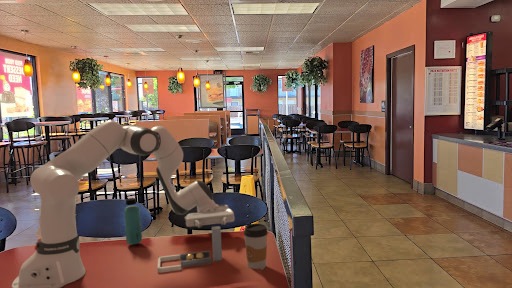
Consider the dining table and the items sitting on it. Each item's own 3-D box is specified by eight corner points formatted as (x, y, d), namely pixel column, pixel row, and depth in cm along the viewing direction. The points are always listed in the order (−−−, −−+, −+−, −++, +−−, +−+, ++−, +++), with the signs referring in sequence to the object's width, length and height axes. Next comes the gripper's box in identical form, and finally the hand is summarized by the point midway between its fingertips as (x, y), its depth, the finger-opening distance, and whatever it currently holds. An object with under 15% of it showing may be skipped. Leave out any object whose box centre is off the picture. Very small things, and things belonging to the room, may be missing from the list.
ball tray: (157, 275, 135) (157, 268, 134) (158, 263, 144) (158, 256, 144) (181, 272, 136) (180, 265, 136) (180, 260, 146) (180, 254, 146)
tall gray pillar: (214, 264, 142) (212, 230, 141) (213, 259, 146) (211, 226, 144) (222, 263, 143) (220, 229, 141) (220, 258, 147) (219, 225, 145)
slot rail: (181, 270, 138) (180, 262, 138) (180, 261, 145) (180, 254, 145) (211, 266, 140) (211, 258, 140) (209, 258, 147) (209, 250, 147)
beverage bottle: (137, 248, 159) (134, 201, 157) (123, 247, 161) (119, 200, 158) (145, 242, 166) (142, 196, 163) (131, 241, 167) (127, 196, 164)
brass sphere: (196, 263, 141) (195, 255, 141) (195, 259, 144) (195, 252, 144) (204, 262, 142) (203, 254, 141) (203, 258, 145) (203, 251, 144)
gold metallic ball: (186, 264, 141) (185, 256, 140) (186, 260, 143) (185, 253, 143) (194, 263, 141) (194, 255, 141) (194, 259, 144) (193, 252, 144)
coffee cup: (240, 268, 138) (238, 227, 136) (256, 260, 144) (254, 221, 142) (257, 275, 133) (256, 233, 131) (273, 266, 139) (272, 226, 137)
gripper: (183, 209, 166) (185, 219, 153) (230, 204, 171) (236, 214, 157) (184, 223, 167) (186, 234, 154) (231, 218, 172) (236, 228, 158)
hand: (211, 224), depth 156 cm, fingers open, 8 cm apart
